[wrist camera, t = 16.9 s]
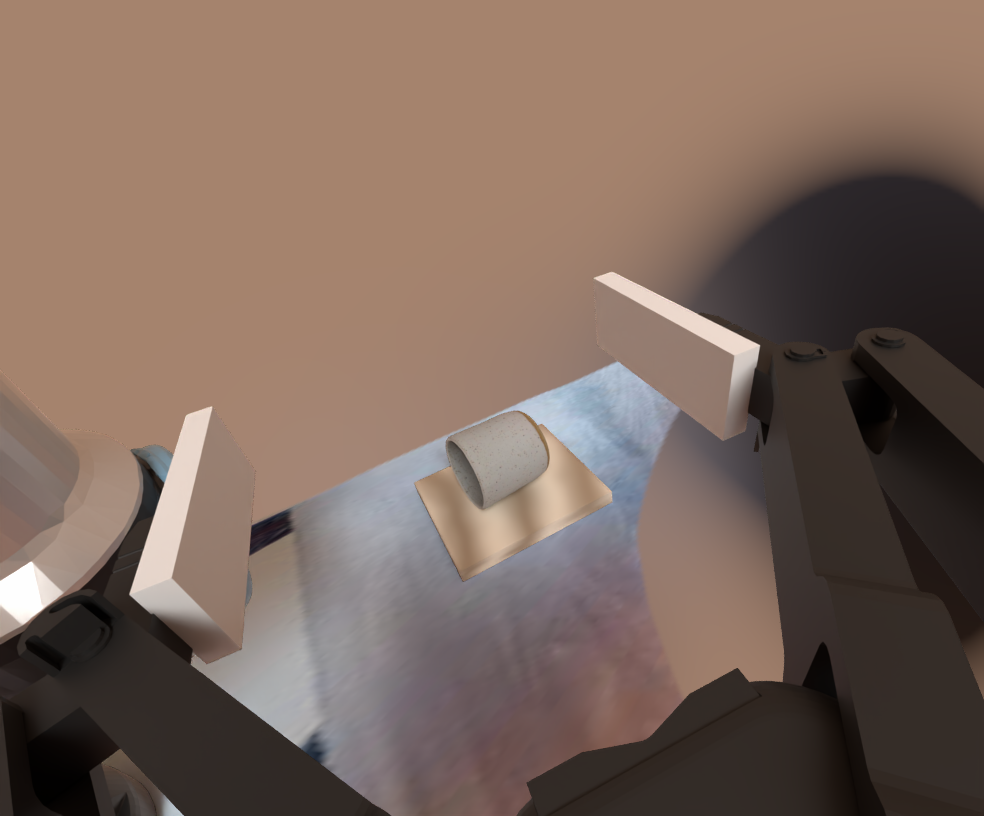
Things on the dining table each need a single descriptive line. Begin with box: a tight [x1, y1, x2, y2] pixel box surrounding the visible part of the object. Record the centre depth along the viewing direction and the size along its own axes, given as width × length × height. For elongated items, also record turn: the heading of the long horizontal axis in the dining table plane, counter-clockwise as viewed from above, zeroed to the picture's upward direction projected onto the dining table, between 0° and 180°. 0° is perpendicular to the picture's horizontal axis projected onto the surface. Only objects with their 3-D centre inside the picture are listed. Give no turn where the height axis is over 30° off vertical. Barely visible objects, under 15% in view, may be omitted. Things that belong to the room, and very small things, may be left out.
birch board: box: [415, 424, 612, 582], centre depth 48 cm, size 16×13×2 cm
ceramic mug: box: [446, 411, 550, 510], centre depth 47 cm, size 11×8×8 cm
